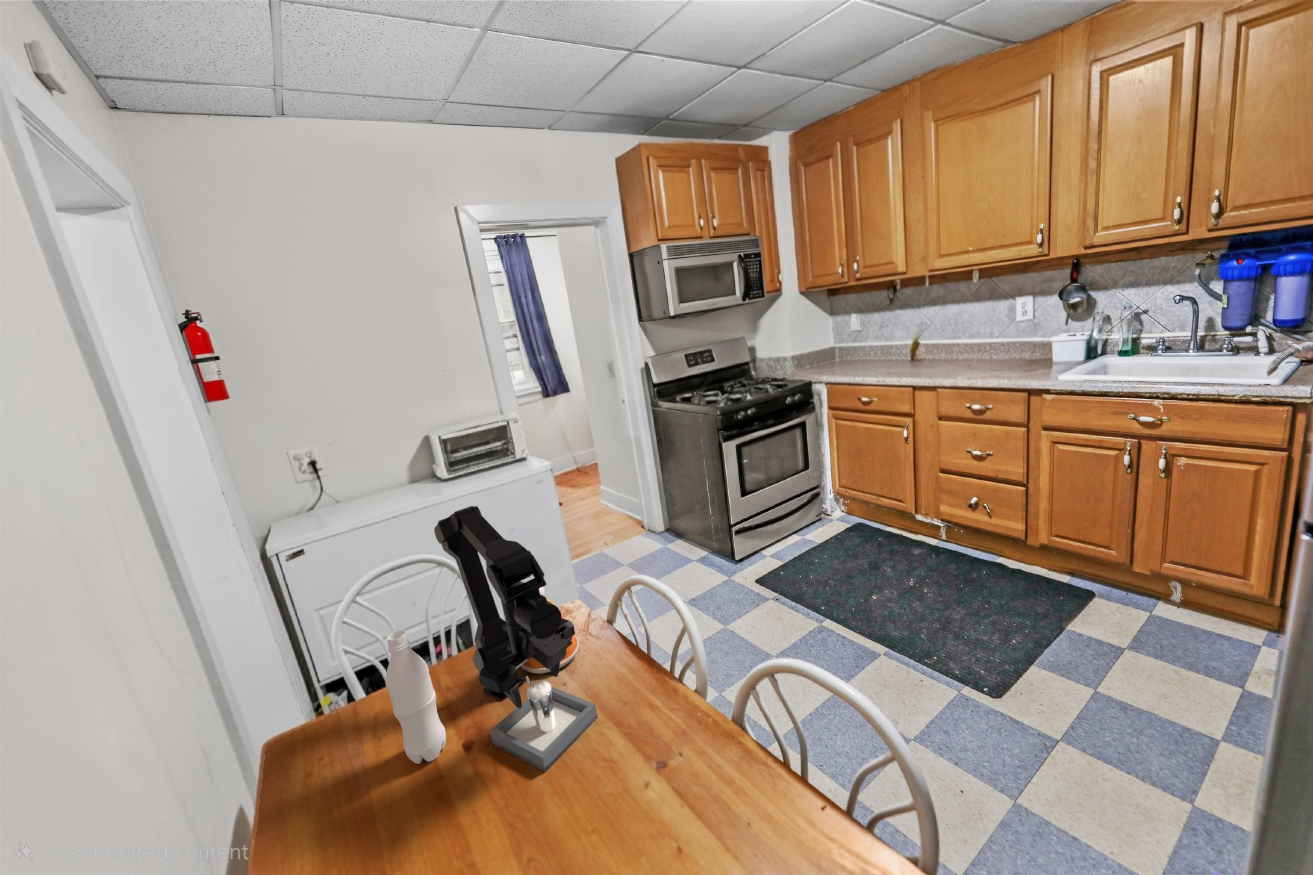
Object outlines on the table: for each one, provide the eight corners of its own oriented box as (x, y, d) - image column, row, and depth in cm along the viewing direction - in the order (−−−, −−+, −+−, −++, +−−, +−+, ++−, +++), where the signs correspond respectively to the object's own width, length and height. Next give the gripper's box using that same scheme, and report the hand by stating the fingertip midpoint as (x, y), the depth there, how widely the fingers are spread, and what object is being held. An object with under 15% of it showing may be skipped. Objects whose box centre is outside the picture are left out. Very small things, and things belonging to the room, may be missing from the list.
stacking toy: (561, 631, 135) (547, 560, 130) (592, 654, 124) (578, 577, 119) (508, 660, 126) (491, 584, 122) (536, 687, 115) (519, 605, 111)
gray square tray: (493, 744, 101) (489, 730, 100) (546, 696, 112) (543, 683, 111) (545, 772, 93) (542, 757, 92) (597, 717, 104) (595, 704, 103)
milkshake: (545, 713, 106) (535, 668, 103) (563, 723, 102) (554, 677, 100) (526, 728, 102) (516, 683, 100) (545, 739, 99) (535, 692, 96)
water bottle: (434, 769, 97) (400, 647, 91) (399, 767, 98) (364, 647, 93) (456, 738, 104) (426, 623, 98) (423, 737, 105) (392, 623, 100)
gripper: (511, 658, 85) (530, 741, 88) (589, 598, 99) (602, 672, 103) (467, 641, 91) (487, 720, 95) (546, 588, 106) (560, 657, 109)
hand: (538, 691), depth 100 cm, fingers open, 9 cm apart
